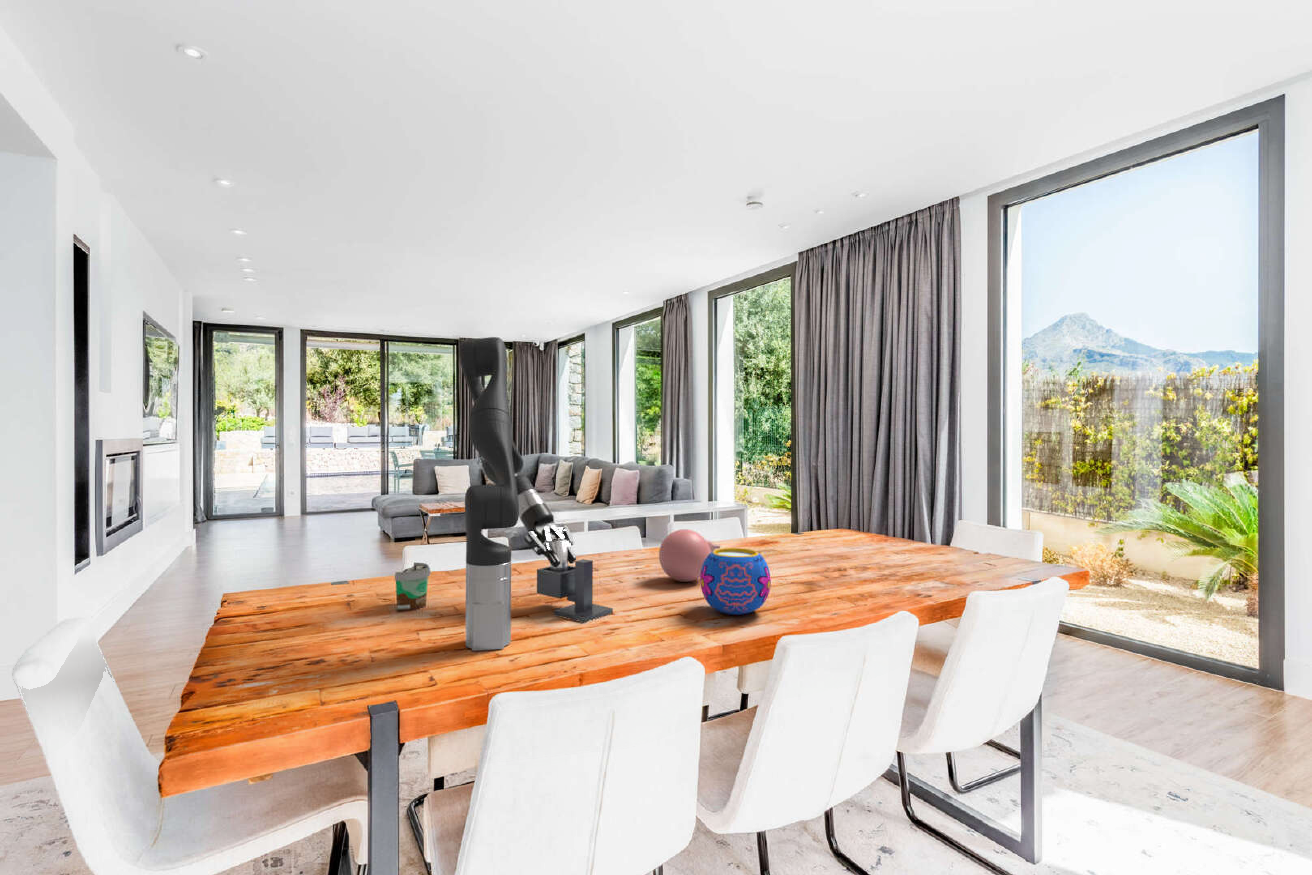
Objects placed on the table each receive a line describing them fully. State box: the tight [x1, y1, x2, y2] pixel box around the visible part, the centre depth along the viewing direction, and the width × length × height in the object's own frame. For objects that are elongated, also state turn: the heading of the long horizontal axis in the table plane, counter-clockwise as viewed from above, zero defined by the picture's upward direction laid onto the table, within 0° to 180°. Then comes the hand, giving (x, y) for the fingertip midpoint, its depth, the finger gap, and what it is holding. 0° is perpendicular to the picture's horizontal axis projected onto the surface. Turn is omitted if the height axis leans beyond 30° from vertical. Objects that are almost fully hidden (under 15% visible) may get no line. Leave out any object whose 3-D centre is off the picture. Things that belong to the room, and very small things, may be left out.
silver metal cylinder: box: [549, 538, 569, 573], centre depth 161 cm, size 4×4×12 cm
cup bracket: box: [536, 558, 614, 623], centre depth 158 cm, size 17×10×13 cm, turn 54°
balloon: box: [658, 529, 721, 583], centre depth 192 cm, size 15×20×15 cm
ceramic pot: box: [699, 547, 772, 616], centre depth 159 cm, size 18×18×15 cm
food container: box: [394, 562, 432, 613], centre depth 162 cm, size 12×6×10 cm, turn 179°
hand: (565, 563), depth 160 cm, fingers open, 5 cm apart
